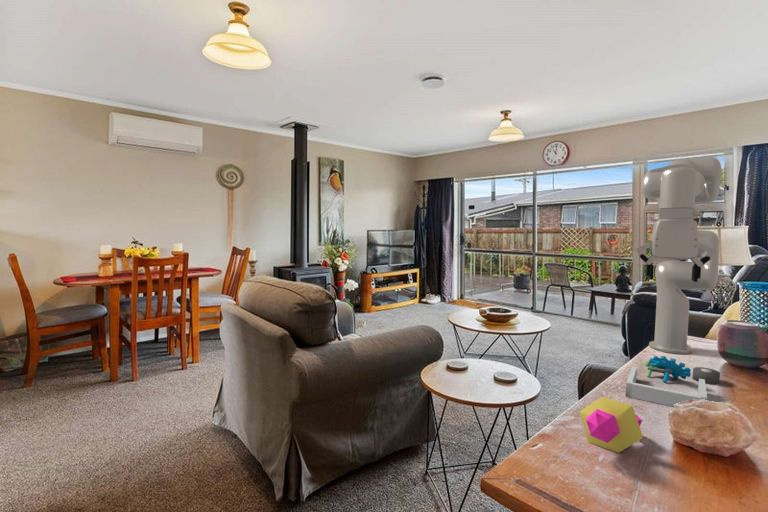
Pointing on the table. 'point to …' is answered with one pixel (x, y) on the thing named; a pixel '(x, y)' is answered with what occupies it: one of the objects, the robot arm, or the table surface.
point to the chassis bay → (660, 391)
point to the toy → (611, 424)
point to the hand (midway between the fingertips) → (672, 280)
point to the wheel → (706, 375)
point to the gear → (667, 368)
